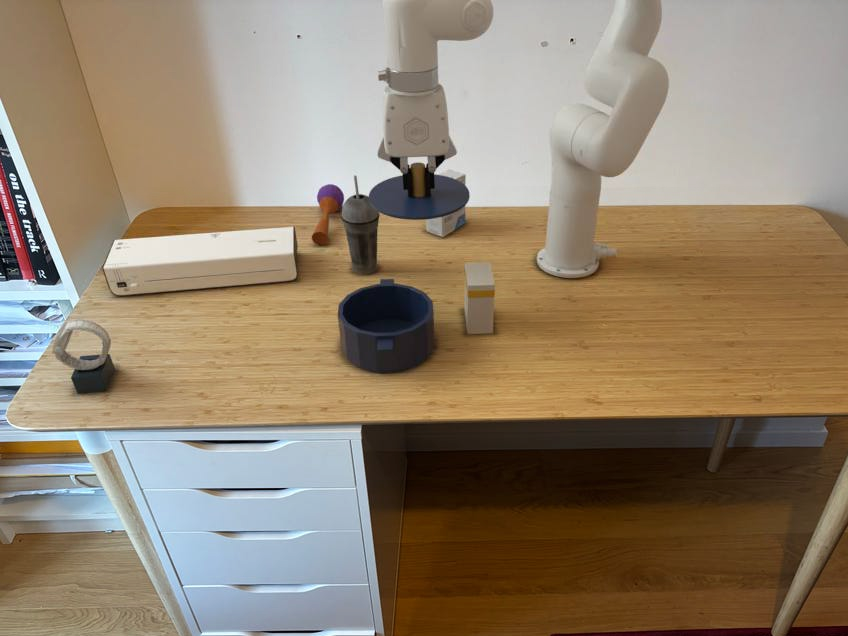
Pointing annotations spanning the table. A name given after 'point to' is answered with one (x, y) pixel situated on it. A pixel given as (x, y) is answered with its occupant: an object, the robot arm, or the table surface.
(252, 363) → the table surface
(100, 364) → the watch
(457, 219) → the ink box
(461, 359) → the table surface
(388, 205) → the tin lid
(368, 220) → the beverage cup
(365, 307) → the tin
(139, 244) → the laminator
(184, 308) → the table surface
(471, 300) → the packet
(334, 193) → the kendama
